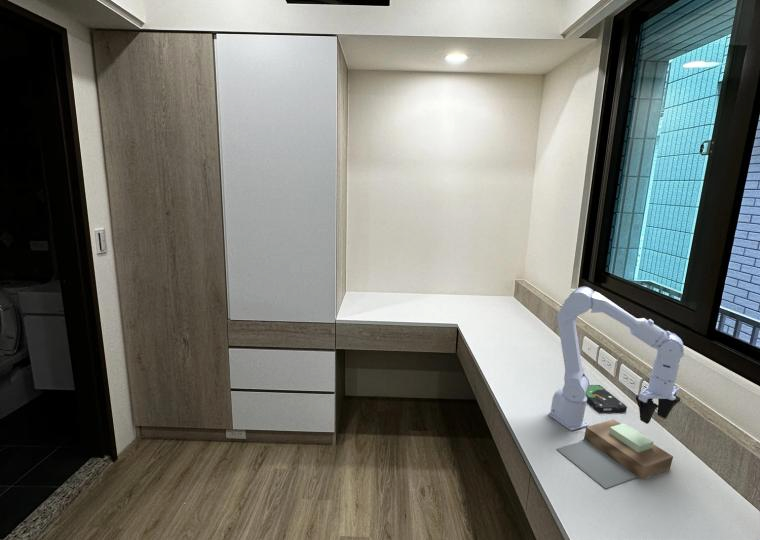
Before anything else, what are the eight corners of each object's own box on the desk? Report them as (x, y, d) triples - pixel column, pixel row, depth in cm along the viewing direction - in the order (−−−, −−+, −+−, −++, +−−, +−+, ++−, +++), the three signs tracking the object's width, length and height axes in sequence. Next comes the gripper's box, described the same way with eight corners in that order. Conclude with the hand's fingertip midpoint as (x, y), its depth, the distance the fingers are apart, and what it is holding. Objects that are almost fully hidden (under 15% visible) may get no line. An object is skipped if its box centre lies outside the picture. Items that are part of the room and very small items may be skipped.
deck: (583, 438, 123) (586, 427, 122) (611, 430, 128) (613, 419, 127) (641, 479, 107) (644, 466, 106) (670, 468, 112) (673, 456, 111)
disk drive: (626, 414, 139) (598, 390, 153) (628, 406, 138) (599, 384, 152) (598, 414, 137) (573, 391, 151) (600, 407, 136) (574, 384, 151)
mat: (556, 449, 117) (556, 448, 117) (585, 440, 122) (586, 439, 122) (605, 489, 103) (605, 488, 103) (636, 477, 108) (637, 476, 108)
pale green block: (608, 433, 120) (610, 427, 119) (622, 429, 122) (623, 423, 121) (638, 452, 112) (639, 446, 111) (652, 447, 114) (653, 441, 113)
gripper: (660, 387, 108) (649, 432, 111) (694, 379, 113) (683, 422, 117) (635, 375, 114) (626, 417, 117) (668, 368, 120) (658, 409, 123)
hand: (653, 419), depth 117 cm, fingers open, 7 cm apart
